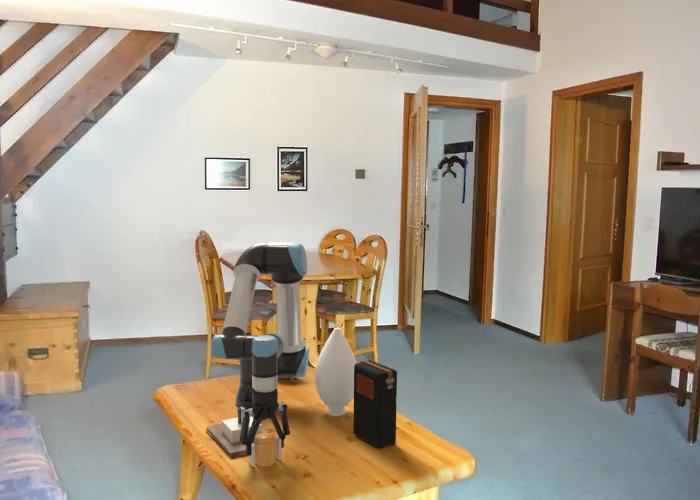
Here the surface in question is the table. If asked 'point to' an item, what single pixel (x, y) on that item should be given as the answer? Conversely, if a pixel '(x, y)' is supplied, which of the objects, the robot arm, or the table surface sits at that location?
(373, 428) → the black upright block
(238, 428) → the box
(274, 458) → the orange acorn nut
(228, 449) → the mounting board
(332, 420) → the table surface
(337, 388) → the lamp
